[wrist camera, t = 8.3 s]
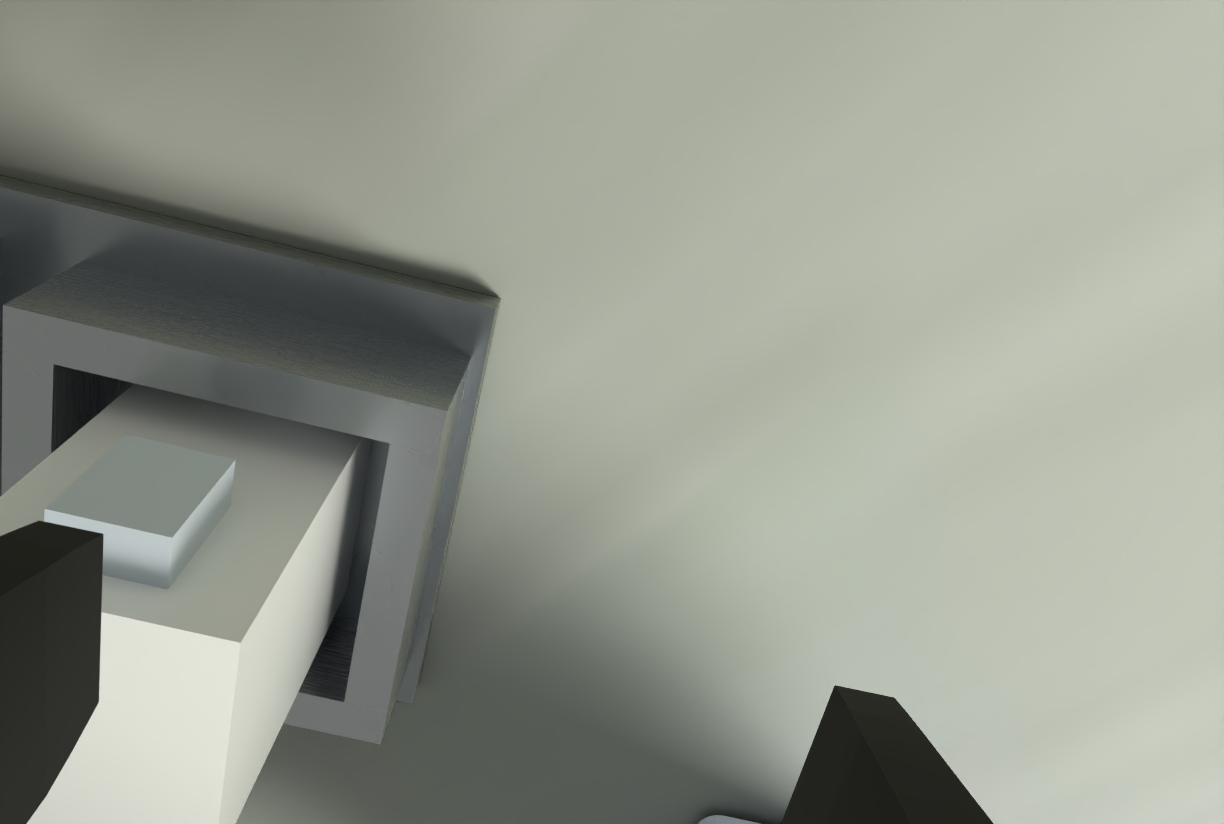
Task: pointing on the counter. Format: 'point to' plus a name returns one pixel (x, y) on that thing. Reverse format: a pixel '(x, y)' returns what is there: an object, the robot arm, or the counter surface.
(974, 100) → the counter surface
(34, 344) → the panel
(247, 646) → the plug
